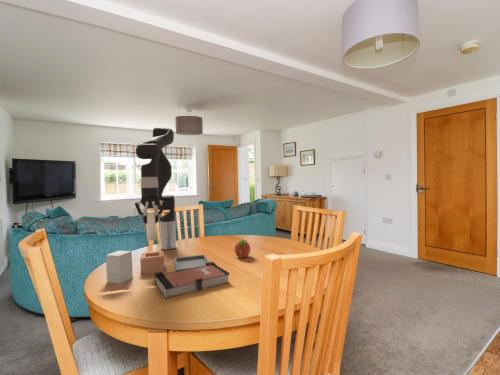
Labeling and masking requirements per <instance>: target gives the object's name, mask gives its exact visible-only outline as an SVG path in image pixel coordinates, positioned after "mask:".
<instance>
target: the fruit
mask: <svg viewBox="0 0 500 375" xmlns="http://www.w3.org/2000/svg"><path fill="white" fill-rule="evenodd" d="M250 253H251V245H250V243H248V241H247V240H243V238H241V240H240V241H238V242H236V244H235V246H234V254H235V255H236V256H237V257H238V258H240V259H241V258H247V257H248V256H249V255H250Z"/></svg>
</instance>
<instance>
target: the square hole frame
mask: <svg viewBox="0 0 500 375" xmlns="http://www.w3.org/2000/svg"><path fill="white" fill-rule="evenodd" d="M140 255H141V256H140V259H139V260H140V261H139V262H140V275H146V274H147V275H148V274H155V273H159V272H163V273H164V272H165V256H164V255H165V254H164V250H159V251H150V252H149V251H148V252H141V254H140Z"/></svg>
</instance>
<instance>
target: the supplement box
mask: <svg viewBox="0 0 500 375" xmlns="http://www.w3.org/2000/svg"><path fill="white" fill-rule="evenodd" d="M132 253H133V252H132V251H130V250H129V251H128V250H116V251H114V252H111V253H107V254H106V255H105V264H106V265H105V266H106V267H105V268H106V269H105V270H106V282H107V283H110V284H115V285H116V284H117V285H118V284H119V285H121V284H123V283H125V282H127V281H130V280H131V279H133V278H134V277H133V276H134V275H133V273H134V272H133V258H132V257H133V256H132Z"/></svg>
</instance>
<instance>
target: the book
mask: <svg viewBox="0 0 500 375" xmlns="http://www.w3.org/2000/svg"><path fill="white" fill-rule="evenodd" d="M153 274H154V275H153V276H154V283H155V284H154V285H155V287H156V288H157V289H158V291H159V292H160V293H161V295H162V296H163V297H164V299H165V300H167V299H170V298H174V297H178V296H183V295H187V294H191V293H195V292H200V291H201V292H202V290H206V289H207V290H208V289H212V288H214V287H220V286H222V285H226V284H230V281H229V275H230V272H229V271H227V270H225V269H224V268H222V267H220V266H219V265H217V264H216V263H215V262H213V261H209V263H206V265H204V266H200V267H195V268H190V269H185V270H180V271H176V270H175V271H172V272H166V273H164V271H163V272H155V273H153Z"/></svg>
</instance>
